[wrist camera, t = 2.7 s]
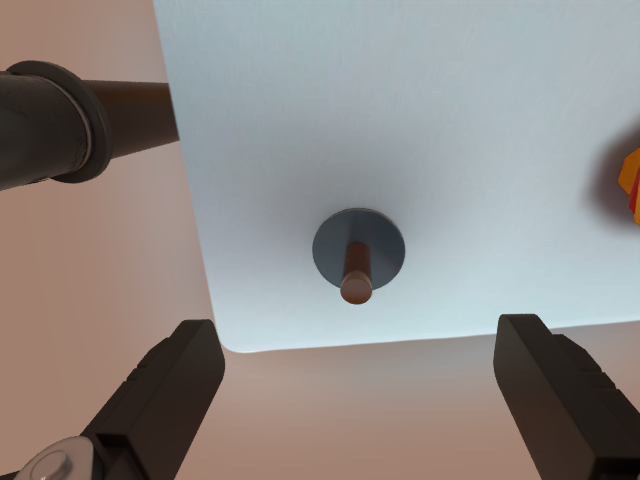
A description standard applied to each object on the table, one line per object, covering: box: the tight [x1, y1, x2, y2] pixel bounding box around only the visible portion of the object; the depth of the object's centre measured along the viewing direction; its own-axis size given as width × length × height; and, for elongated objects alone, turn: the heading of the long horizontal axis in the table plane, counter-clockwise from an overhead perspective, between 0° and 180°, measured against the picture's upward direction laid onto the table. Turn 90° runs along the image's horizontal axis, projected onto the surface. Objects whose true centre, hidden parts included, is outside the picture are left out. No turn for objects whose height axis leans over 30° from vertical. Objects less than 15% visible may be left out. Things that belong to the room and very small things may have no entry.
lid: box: [313, 208, 405, 304], centre depth 30 cm, size 9×9×8 cm
